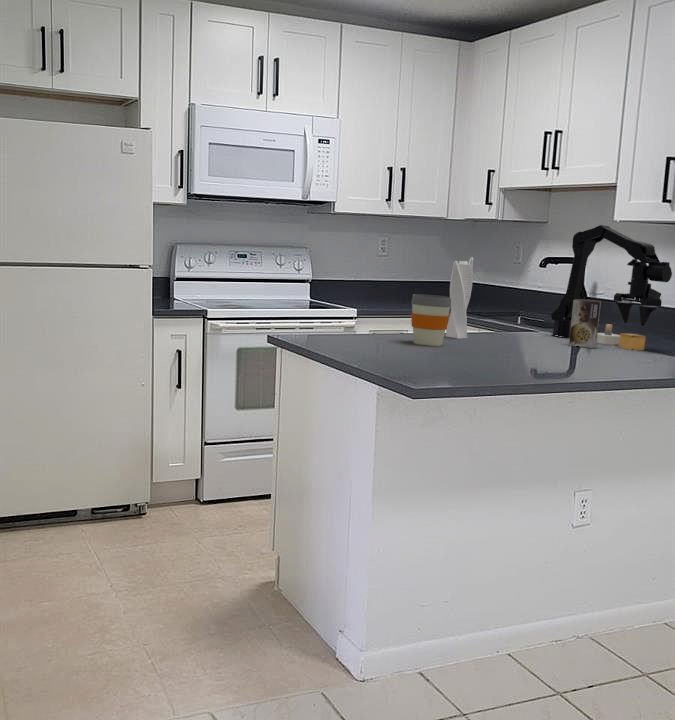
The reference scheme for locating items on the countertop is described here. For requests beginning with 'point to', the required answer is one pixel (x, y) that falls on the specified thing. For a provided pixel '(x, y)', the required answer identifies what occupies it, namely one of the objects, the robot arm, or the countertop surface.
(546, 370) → the countertop surface
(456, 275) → the skyscraper
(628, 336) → the yellow short cylinder
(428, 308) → the reusable coffee cup
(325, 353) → the countertop surface
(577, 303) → the coffee box
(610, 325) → the block
